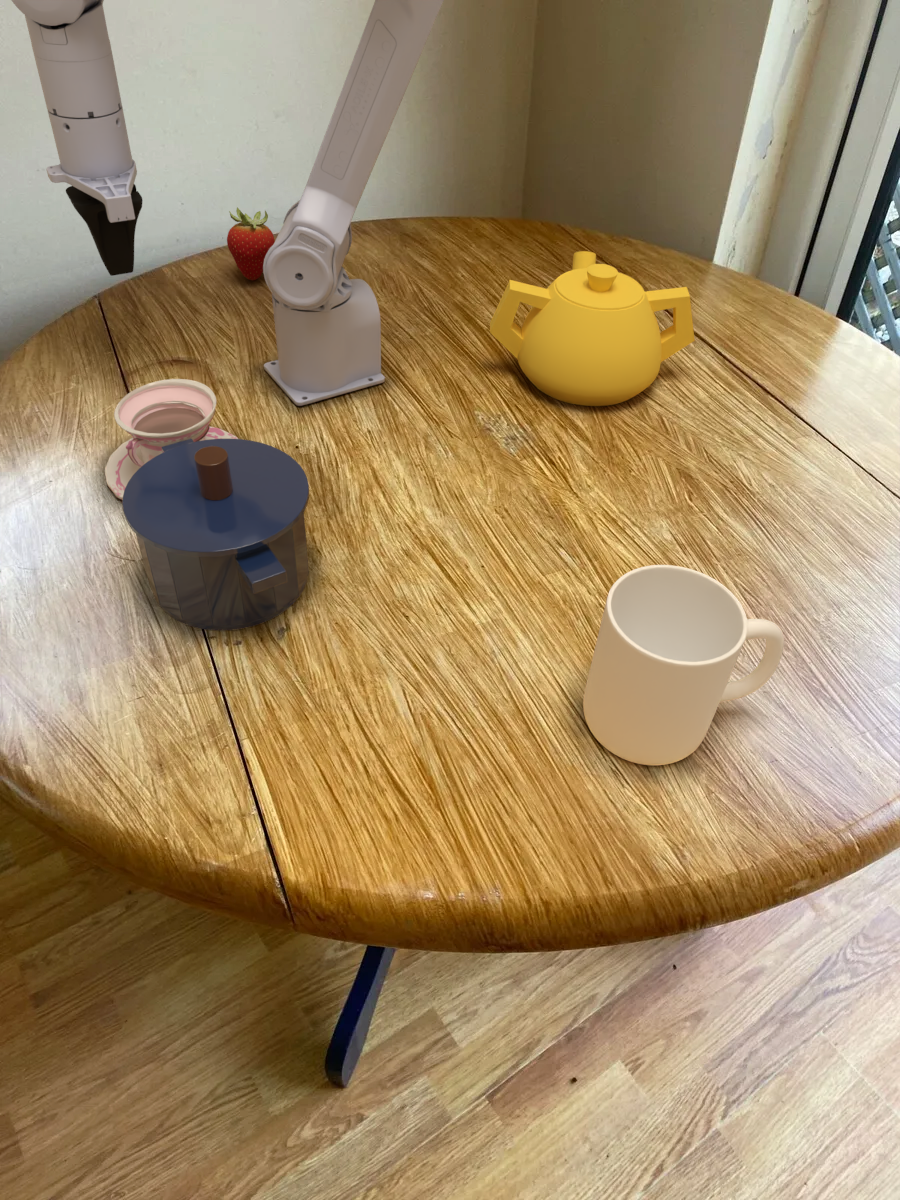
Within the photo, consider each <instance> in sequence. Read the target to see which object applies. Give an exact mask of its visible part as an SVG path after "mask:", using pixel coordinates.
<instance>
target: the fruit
mask: <svg viewBox="0 0 900 1200" xmlns="http://www.w3.org/2000/svg"><path fill="white" fill-rule="evenodd" d="M228 212H229V215H230V218H231V219H232V220H233V221H234V222H237V223H235V224H234V225H233V226H231V228H229V230H228V232H227V236H226V244H227V248H228V250H229V252H230V254H231V255H232V257H233V260H234V262H235V264H236V267H237V268H238V270H239V271H240V273H241V274H242V276H243V277H245V278H246V279H247V280H249V281H256V280H258V279H259V278H261V276H263V275H262V274H264V273H263V264H264V259H265V256H266V254H267V252H268V250H269V248H270V247H271V246H272V245H273V244H274V242H275V240H276V239H275V236H274V234H273V231H272V230H271V228H269V227H268V226H267V225H266V222H267V221H268V219H269V214H268V213H267V211H266V210H264V216H263V218H261V215H262V213H261V210H259V211H257V212H256V213H255V214H254V215H253V219H252V217H250V216H249V215H248V214H247V213H246V212H245V213H243V212H242V211H241V210H240V208H239V207H236V216H235V215H234V214H232V212H231V210H229V211H228Z"/></svg>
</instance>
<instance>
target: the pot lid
mask: <svg viewBox="0 0 900 1200" xmlns="http://www.w3.org/2000/svg"><path fill="white" fill-rule="evenodd" d="M309 499H310V485H309V480H308V477H307V474H306V471H304V469H303V467H302V466H301V464H299V463H298V461H296V460H295V458H293V457H292V456H291V455H289V454H288V453H286V452H285V451H283V450H281V449H279V448H278V447H274V446H272V445H269V444H266V443H263V442H260V441H254V440H251V439H250V440H249V439H243V438H238V439H210V440H203V441H197V442H192V443H188V444H184V445H181V446H178V447H175V448H172V449H170V450H168V451H165V452H163V453H161V454H159V455H158V456H156V457H154V458H152V459H151V460H149V461H148V462H146V463H145V464H144V465H143V466H142V467H140V468H139V469H138V470H137V471H136V472H135V474H134V475H133V476H132V477H131V479H130V480H129V482H128V483H127V486H126V488H125V490H124V494H123V500H122V502H121V503H122V510H123V515H124V518H125V520H126V522H127V525H128V526H129V528H130V529H131V530H132V532H133V533H135V535H136V534H137V535H138V536H139V537H140V538H141V539H143V540H144V541H145V542H147V543H148V544H150V545H152V546H154V547H156V548H159V549H161V550H164V551H167V552H170V553H174V554H179V555H185V556H193V557H218V556H227V555H233V554H238V553H243V552H246V551H249V550H253V549H256V548H258V547H261V546H263V545H266V544H268V543H269V542H271V541H273V540H275V539H277V538H278V537H280V536H282V535H283V534H285V533H286V532H287V531H288V530H289V529H291V528H292V527H293V526H294V525H295V524H296V523H297V521H298V520H299V519H300V518H301V516H302V515H303V513H304V514H305V511H306V509H307V506H308V503H309Z"/></svg>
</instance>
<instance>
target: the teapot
mask: <svg viewBox="0 0 900 1200" xmlns="http://www.w3.org/2000/svg"><path fill="white" fill-rule="evenodd" d="M521 303H523V304H525V305H529V306H531V308H530V309H529V311H528V312H527V315H526V316H525V319H524V321H523V322H522V325H521V327H520V326H519V325H518V324H516V322H514V320H515V317H516V314H517V311H518V309H519V306H520V304H521ZM671 309H672V325H671V326H669V327H667V328H665V329H664V330H662V331H661V330H660V327H659V322H658V320H657V316H656V312H659V311H660V312H661V311H665V310H671ZM693 322H694V321H693V311H692V304H691V295H690V293H689V290H688V286H681V287H672V288H663V289H654V290H647V291H645V289H644V287H643V286H642V285H641V284H640V283H639V282H638V281H637V280H636V279H634V278H633V277H631V276H629V275H627V274H624V273H622V272H619V271H618V269H617V268H616V267H614V266H612V265H609V264H606V263H597V253H595V252H592V251H586V250H583V251H576V252H573V257H572V267H571V270H568V271H565V272H564V273H562V274H560V275H559V276H558V277H556V278H555V279H554V280H553V281H552V282H551V283H550V284H549V285H548V287H546V288H545V287H540V286H537V285H534V284H533V285H532V284H528V283H525V282H520V281H517V280H513V279H509V280H508V282H507V285H506V287H505V289H504V291H503V293H502V296H501V298H500V300H499V302H498V304H497V306H496V309H495V311H494V313H493V315H492V317H491V319H490V322H489V333H490V334H491V335H492V336H493V337H494V338H495V339H496V340H497V341H498V342H499V343H500V344H501V345H502V346H503V347H504V348H505V349H506V350H507V351H508V352H510V354H512V356H513V357H514V358H515V359H516V360H517V363H518V365H519V367H520V369H521V371H522V372H523V374H524V375H525V377H527V379H528V380H529V382H531V383H532V384H533V386H534V387H535V388H536V389H538V390H539V391H540V392H541V393H543V394H545V395H546V396H549V397H551V398H552V399H555V400H558V401H560V402H563V403H567V404H571V405H576V406H584V407H605V406H613V405H618V404H621V403H624V402H627V401H628V400H631V399H632V398H634V397H636V396H638V395H639V394H641V393H642V392H643V391H645V390H646V389H647V388H649V387H650V386H651V385H652V384H653V383H654V381H655V380H656V379H657V377H658V375H659V373H660V369H661V364H662V362H664V361H665V360H667V359H669V358H670V357H672V356H673V355H675V354H676V353H678V352H679V351H681V350H683V349H684V348H686V347H687V346H688V345H690V344H692V343H693V342H695V341H696V340H695V332H694V331H695V330H694V323H693Z"/></svg>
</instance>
